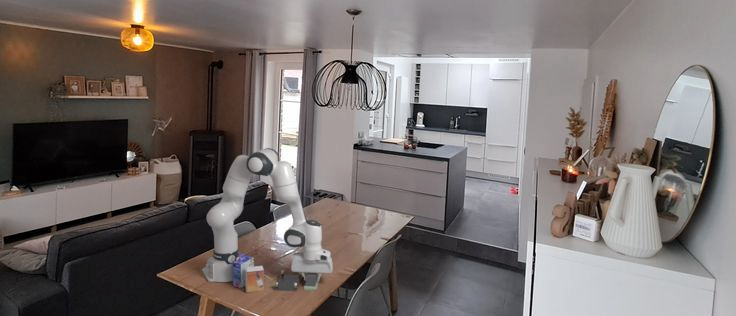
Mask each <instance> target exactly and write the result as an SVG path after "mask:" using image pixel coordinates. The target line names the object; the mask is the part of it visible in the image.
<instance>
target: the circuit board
mask: <svg viewBox="0 0 736 316" xmlns="http://www.w3.org/2000/svg"><path fill="white" fill-rule="evenodd" d="M317 276H318V273H308V272H306V280H305V283H304V286H303V290H305V291H317V289H318V286H319V282H320V280H319V281H316V277H317Z"/></svg>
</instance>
